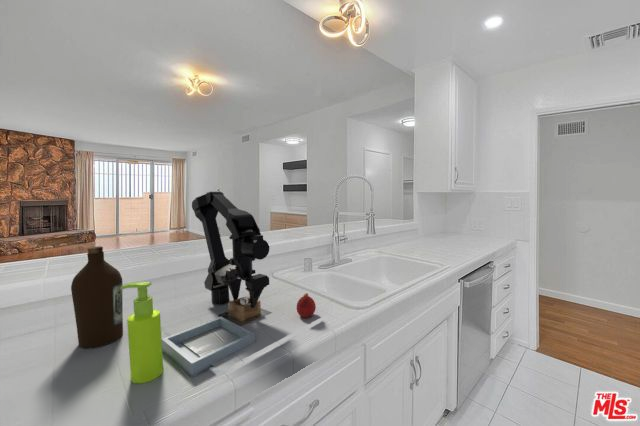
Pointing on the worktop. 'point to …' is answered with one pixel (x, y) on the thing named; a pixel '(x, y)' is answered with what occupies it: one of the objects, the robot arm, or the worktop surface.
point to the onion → (306, 306)
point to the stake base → (243, 302)
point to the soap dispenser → (144, 336)
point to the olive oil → (97, 301)
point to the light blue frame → (200, 364)
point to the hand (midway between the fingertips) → (244, 303)
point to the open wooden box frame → (243, 309)
